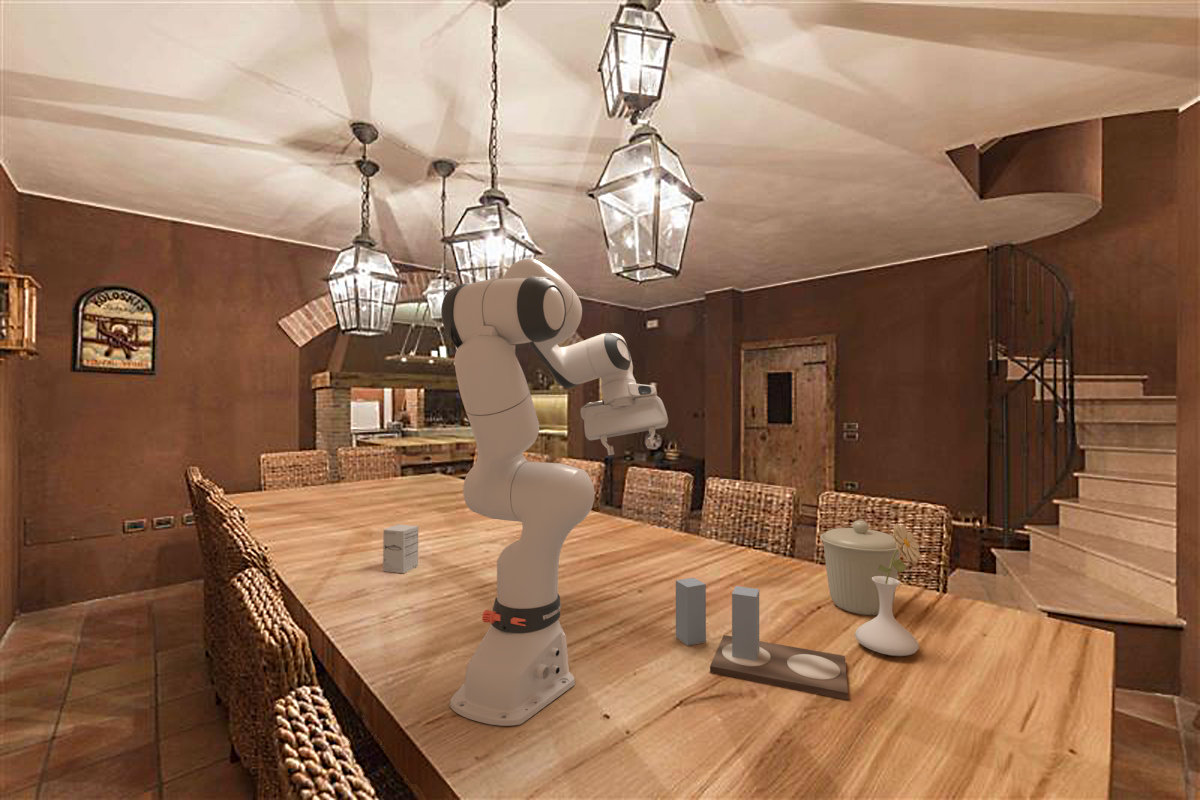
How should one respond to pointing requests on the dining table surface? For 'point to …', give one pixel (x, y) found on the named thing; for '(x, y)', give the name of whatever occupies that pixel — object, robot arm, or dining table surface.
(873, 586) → the canister
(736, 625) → the pin
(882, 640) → the flower in vase
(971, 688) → the dining table surface
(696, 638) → the gray rectangular block
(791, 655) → the board
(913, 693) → the dining table surface
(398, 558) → the supplement box
